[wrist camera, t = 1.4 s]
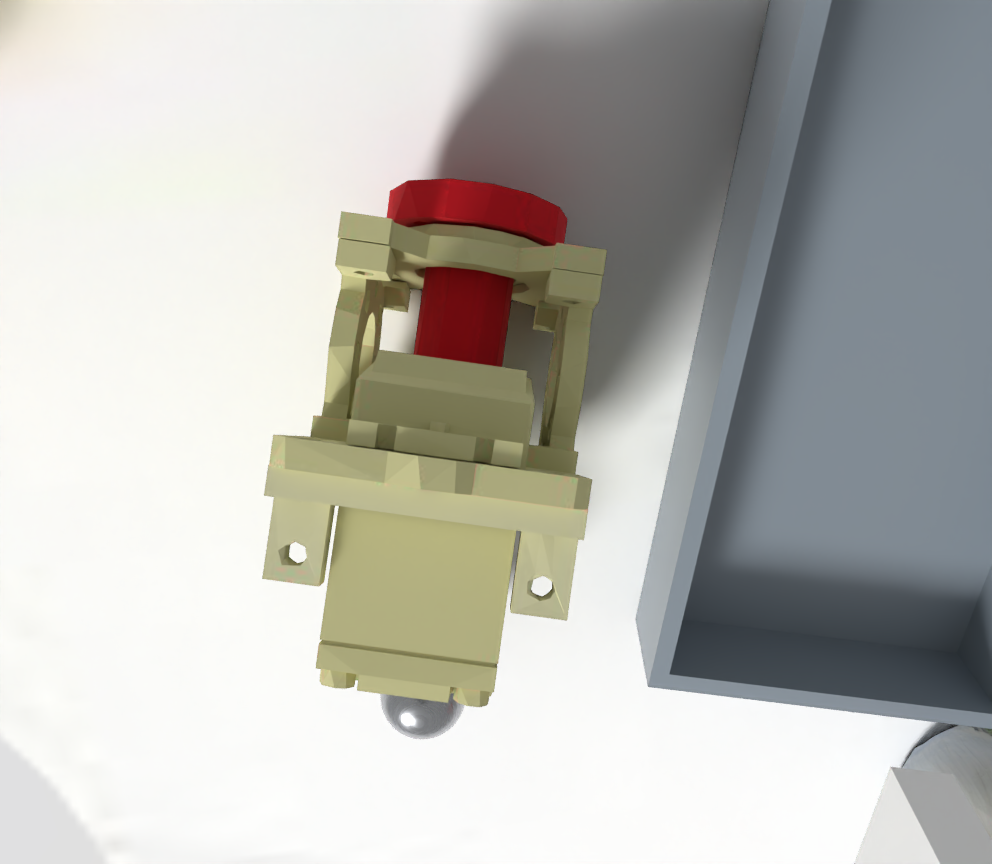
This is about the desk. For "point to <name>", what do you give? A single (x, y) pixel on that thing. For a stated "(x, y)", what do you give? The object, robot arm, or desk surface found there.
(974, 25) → the parts bin
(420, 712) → the ball stud post
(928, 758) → the decorative ornament
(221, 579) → the desk surface
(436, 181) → the mechanical component
